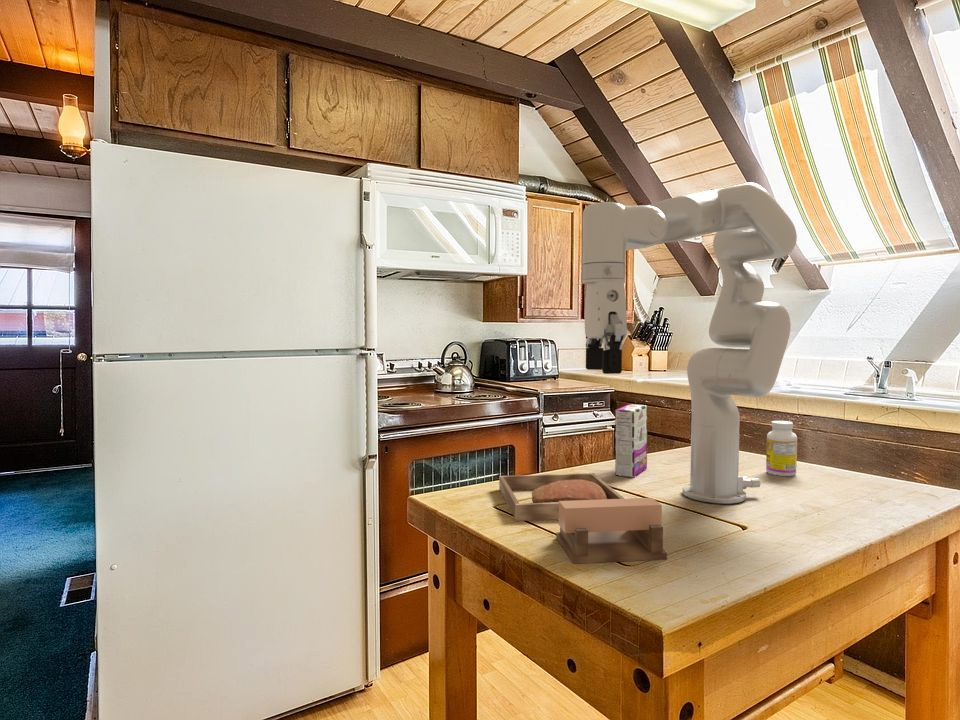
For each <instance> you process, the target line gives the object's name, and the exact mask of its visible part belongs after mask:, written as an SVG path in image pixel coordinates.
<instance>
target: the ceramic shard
mask: <svg viewBox="0 0 960 720" xmlns="http://www.w3.org/2000/svg"><path fill="white" fill-rule="evenodd" d="M602 499H607V497H606V494H605V492H604V491H603V489H602V488H601V487H600V486H599V485H597V484H596V483H594V482H591V481H587V480H581V479H579V480H562V481H556V482H552V483H549V484H547V485H543V486H541V487H539V488H537V489H532V491H531V503H551V502H559V501H574V500H602Z"/></svg>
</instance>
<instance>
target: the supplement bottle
mask: <svg viewBox="0 0 960 720" xmlns="http://www.w3.org/2000/svg"><path fill="white" fill-rule="evenodd" d="M793 428H794V423H793V422H792V421H789V420H788V421H787V420H772V421H771V429H772V430H771V431H769V432H768V433H766V454H765V455H766V459H765V461H766V463H765V466H766V467H765V470H766V472H767V473H768V474H769V475H771V476H776V475H778V476H777V477H786V476H788V477H794V476H796V474H797V468H798V467H797V464H798V462H797V461H798V458H797V457H798V456H797V453H798V436H797V434H796V433H795V432H793Z"/></svg>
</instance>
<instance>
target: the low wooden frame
mask: <svg viewBox="0 0 960 720" xmlns="http://www.w3.org/2000/svg"><path fill="white" fill-rule="evenodd" d="M498 479H499V480H498V481H499V483H498V485H499V489H500V490H499V492H500V493H501V495H502V498H503V499H504V500H505V503H506V504H507V507H508V508H509V510H510V511H511V514H512V516H513V518H514V520H515V521H516V522H517V521H518V522H519V521H521V522H522V521H541V520H542V521H544V520H547V521H548V520H559V502H551V503H533V502H529V503H527V502H525V503H520V502H519V500H518V498H517V497H516V495H515V493H514V492H513V490H514V489H520V490H535V489H537V488H539V487H541V486H543V485H547V484H549V483H552V482H556V481H562V480H579V479H581V480H587V481H591V482H594V483H596V484H597V485H599V486H600V487H601V488H602V489H603V491H604V492H605V494H606V497H607V499H625V498H624V497H623V496H622V495H621V494H619V493H618V492H617V491H616V490H615V489H614V488H613V487H612V486H609V484H607V483H606V482H605V481H604V480H602V479H601V478H600V477H599V476H598V475H596V473H594V472H584V473H579V472H578V473H555V474H554V473H550V474H548V473H547V474H525V475H524V474H523V475H520V474H519V475H499V477H498ZM512 489H513V490H512ZM514 491H515V490H514Z"/></svg>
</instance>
